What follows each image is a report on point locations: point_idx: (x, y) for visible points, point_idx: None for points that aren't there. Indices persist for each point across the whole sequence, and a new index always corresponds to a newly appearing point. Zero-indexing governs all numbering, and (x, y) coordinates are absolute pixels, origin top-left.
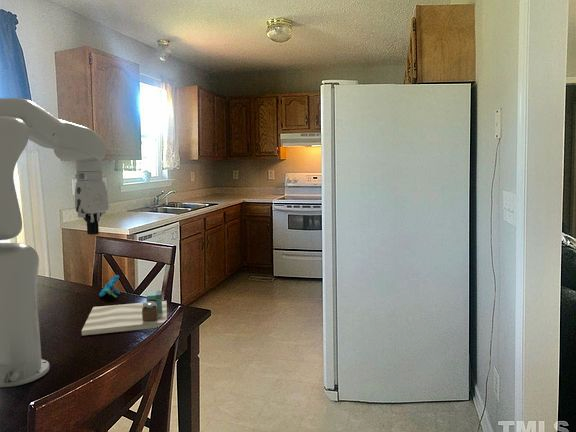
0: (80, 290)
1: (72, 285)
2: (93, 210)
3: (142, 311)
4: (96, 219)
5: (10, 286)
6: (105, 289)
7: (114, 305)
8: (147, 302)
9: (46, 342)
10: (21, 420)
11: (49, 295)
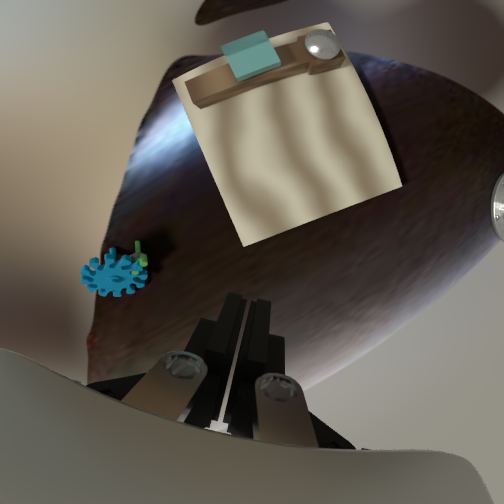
0: (116, 347)
1: (99, 373)
2: (374, 479)
3: (344, 59)
4: (202, 383)
5: None
6: (130, 278)
7: (224, 196)
8: (316, 50)
9: (427, 239)
10: None
11: None
